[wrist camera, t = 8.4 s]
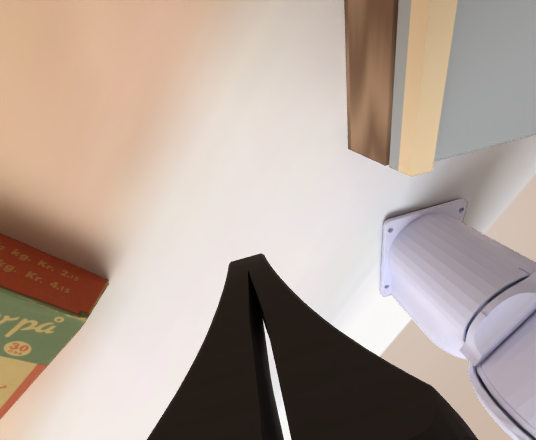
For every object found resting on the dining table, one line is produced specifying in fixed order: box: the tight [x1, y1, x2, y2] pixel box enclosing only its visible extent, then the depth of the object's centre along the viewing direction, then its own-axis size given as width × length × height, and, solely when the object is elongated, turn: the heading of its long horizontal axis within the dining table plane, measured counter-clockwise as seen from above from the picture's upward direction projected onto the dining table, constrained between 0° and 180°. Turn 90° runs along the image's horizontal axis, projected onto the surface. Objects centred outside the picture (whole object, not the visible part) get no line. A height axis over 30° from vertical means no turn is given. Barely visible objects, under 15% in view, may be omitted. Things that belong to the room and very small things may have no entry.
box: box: [345, 0, 399, 166], centre depth 14 cm, size 14×12×4 cm
